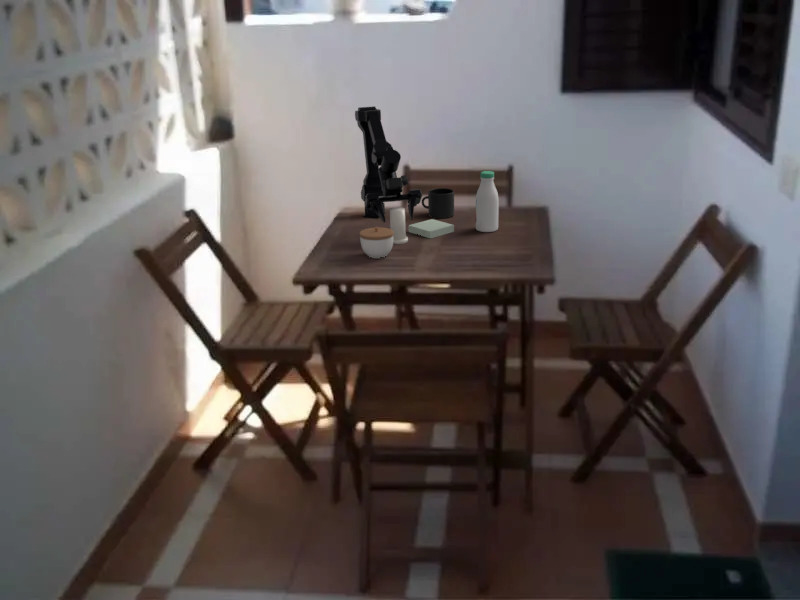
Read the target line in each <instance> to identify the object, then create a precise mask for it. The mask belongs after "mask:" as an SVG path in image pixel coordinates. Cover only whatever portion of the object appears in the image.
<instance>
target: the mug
mask: <svg viewBox="0 0 800 600" xmlns="http://www.w3.org/2000/svg"><path fill="white" fill-rule="evenodd" d="M427 194H428V195H427V196H424V197H422V198H421V205H422V207H423V208H424V209H427V211H428V216H429V215H430V216H432V217H431V218H433V217H436V218H435V219H448V218H447V217H449V218H451V216H452V217H454V216H455V190H454V189H452V188H447V187H446V188H444V187H439V188H438V187H437V188H432V189H429V190H428V192H427ZM427 199H428V200H427ZM425 200H427V202H428V205H426V204H425ZM453 215H454V216H453ZM430 216H429V217H430Z"/></svg>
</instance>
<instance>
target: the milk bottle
mask: <svg viewBox="0 0 800 600" xmlns="http://www.w3.org/2000/svg"><path fill="white" fill-rule="evenodd" d="M479 176H480V178H479V179H480V184H479V187H478V189H477V192H476V195H475V230H476V231H478V232H480V233H482V232H483V233H492V232H497V231H498V229H499V194H498V190H497V187H496V185H495V182H494V180H495V172H494V171H491V170H484V171H481V172H480V175H479Z"/></svg>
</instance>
